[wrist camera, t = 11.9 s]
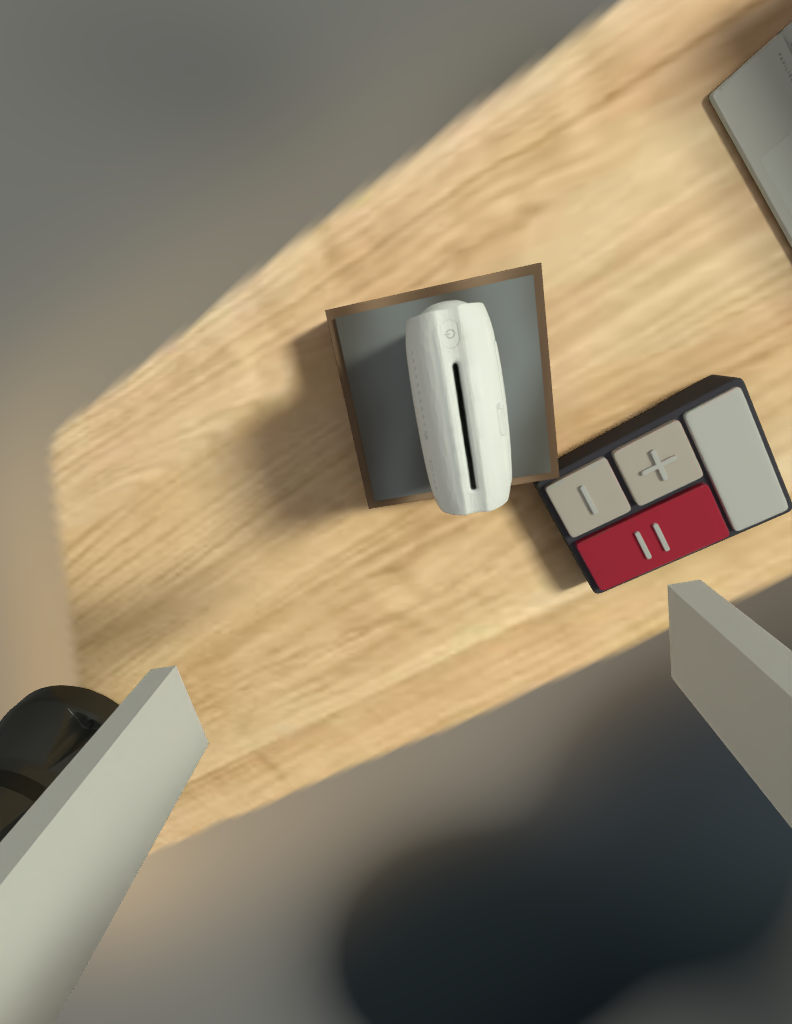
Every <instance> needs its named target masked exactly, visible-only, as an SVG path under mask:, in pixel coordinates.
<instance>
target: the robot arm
mask: <svg viewBox="0 0 792 1024" xmlns="http://www.w3.org/2000/svg"><path fill="white" fill-rule="evenodd" d="M668 607H669V629H670V651H671V672H672V673H671V674H672V679H674V681H675V682H676V683H677V685H678V686H679V687H680V689H681V690H682V691H683V692H684V694H685V695H686V696H687V697H688V699H689V700H690V701H691V702H692V704H693V705H694V706H695V707H696V709H697V710H698V711H699V712H700V714H701V715H702V716H703V717H704V719H705V720H706V721H707V722H708V724H709V725H710V726H711V727H712V729H713V730H714V731H715V732H716V734H717V735H718V736H719V737H720V739H721V740H722V741H723V742H724V744H725V745H726V746H727V748H728V749H729V750H730V751H731V753H732V754H733V755H734V756H735V758H736V759H737V760H738V761H739V762H740V764H741V765H742V766H743V767H744V769H745V770H746V771H747V773H748V774H749V775H750V776H751V778H752V779H753V780H754V781H755V783H756V784H757V785H758V786H759V788H760V789H761V790H762V791H763V793H764V794H765V795H766V796H767V798H768V799H769V800H770V801H771V803H772V804H773V805H774V806H775V808H776V809H777V810H778V811H779V813H780V814H781V815H782V817H784V819H785V820H786V822H787V823H788V824H789V825H790V826H791V828H792V651H791V650H790V649H788V648H787V647H786V646H785V645H783V644H782V643H781V642H779V641H778V640H777V639H776V638H774V637H773V636H772V635H771V634H769V633H768V632H767V631H765V630H764V629H763V628H761V627H760V626H759V625H757V624H756V623H755V622H754V621H753V620H751V619H750V618H749V617H747V616H746V615H745V614H743V613H742V612H741V611H740V610H738V609H737V608H736V607H735V606H733V605H732V604H731V603H729V602H728V601H727V600H726V599H724V598H723V597H722V596H720V595H719V594H718V593H717V592H715V591H714V590H713V589H711V588H710V587H709V586H708V585H706V584H705V583H704V582H702V581H701V580H695V581H689V582H683V583H677V584H671V585H668ZM208 744H209V742H208V740H207V738H206V735H205V733H204V731H203V728H202V726H201V723H200V721H199V719H198V716H197V714H196V712H195V709H194V707H193V705H192V702H191V700H190V698H189V695H188V693H187V690H186V688H185V686H184V683H183V681H182V679H181V676H180V674H179V672H178V669H177V667H176V666H170V667H164V668H158V669H151V670H150V671H149V672H148V673H147V674H146V676H145V677H144V678H143V679H142V680H141V681H140V682H139V684H138V685H137V686H136V687H135V688H134V689H133V690H132V692H131V693H130V694H129V695H128V696H127V697H126V699H125V700H124V701H123V702H122V703H121V704H120V705H118V704H116V703H115V702H113V701H112V700H110V699H108V698H107V697H105V696H103V695H101V694H98V693H96V692H93V691H91V690H88V689H84V688H80V687H74V686H64V685H59V686H49V687H45V688H41V689H39V690H36V691H34V692H32V693H30V694H29V695H28V696H26V697H25V698H24V699H23V700H21V701H20V702H19V703H18V704H17V705H16V706H14V707H13V708H12V709H11V710H10V711H9V712H8V713H7V714H6V715H5V716H4V717H3V719H2V720H1V721H0V1024H55V1022H56V1020H57V1018H58V1016H59V1015H60V1013H61V1011H62V1009H63V1007H64V1005H65V1003H66V1002H67V1000H68V998H69V996H70V995H71V993H72V991H73V989H74V987H75V985H76V983H77V982H78V980H79V978H80V976H81V975H82V973H83V971H84V969H85V967H86V965H87V964H88V962H89V960H90V958H91V956H92V955H93V953H94V951H95V949H96V947H97V945H98V944H99V942H100V940H101V938H102V936H103V935H104V933H105V931H106V929H107V927H108V926H109V924H110V922H111V920H112V918H113V916H114V915H115V913H116V911H117V909H118V907H119V905H120V904H121V902H122V900H123V898H124V896H125V895H126V893H127V891H128V889H129V887H130V886H131V884H132V882H133V880H134V878H135V877H136V874H137V873H138V871H139V869H140V867H141V866H142V864H143V862H144V860H145V858H146V857H147V855H148V853H149V851H150V849H151V847H152V846H153V844H154V842H155V840H156V838H157V837H158V835H159V833H160V831H161V829H162V827H163V826H164V824H165V822H166V820H167V818H168V817H169V815H170V813H171V811H172V809H173V808H174V806H175V804H176V802H177V800H178V798H179V797H180V795H181V793H182V791H183V789H184V788H185V786H186V784H187V782H188V780H189V778H190V777H191V775H192V773H193V771H194V769H195V768H196V766H197V764H198V762H199V760H200V758H201V757H202V755H203V753H204V751H205V749H206V748H207V746H208Z"/></svg>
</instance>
